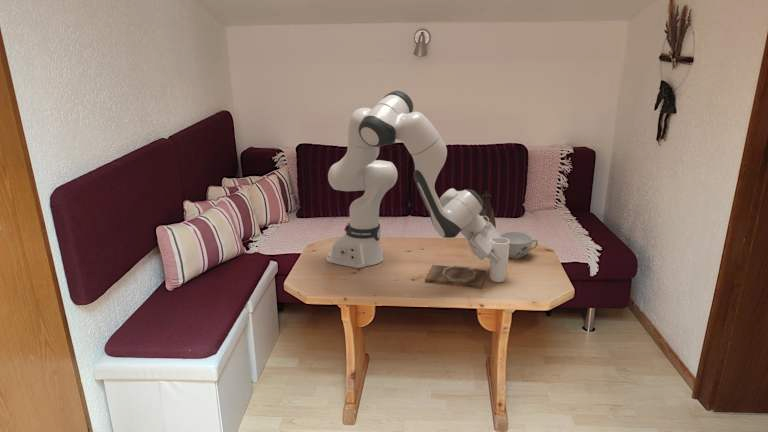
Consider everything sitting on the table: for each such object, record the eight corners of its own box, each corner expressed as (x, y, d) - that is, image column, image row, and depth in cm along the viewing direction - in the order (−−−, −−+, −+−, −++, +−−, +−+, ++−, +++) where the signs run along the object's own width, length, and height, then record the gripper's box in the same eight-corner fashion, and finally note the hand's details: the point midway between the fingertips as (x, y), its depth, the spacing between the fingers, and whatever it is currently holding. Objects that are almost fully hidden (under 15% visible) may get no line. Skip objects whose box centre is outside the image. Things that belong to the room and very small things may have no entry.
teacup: (503, 262, 207) (504, 243, 204) (495, 250, 219) (496, 231, 216) (542, 261, 207) (543, 241, 205) (532, 249, 219) (533, 230, 217)
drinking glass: (507, 284, 189) (510, 244, 184) (487, 283, 190) (489, 243, 186) (507, 276, 195) (509, 237, 190) (488, 275, 197) (490, 236, 192)
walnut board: (424, 282, 192) (424, 276, 191) (432, 267, 204) (432, 262, 203) (481, 288, 186) (482, 283, 186) (486, 273, 198) (486, 268, 197)
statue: (483, 246, 223) (487, 188, 214) (498, 251, 218) (504, 192, 209) (470, 252, 217) (474, 193, 208) (486, 258, 212) (491, 197, 203)
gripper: (472, 232, 180) (500, 264, 179) (487, 214, 198) (513, 243, 197) (459, 243, 183) (486, 274, 182) (475, 224, 201) (500, 252, 200)
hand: (500, 258), depth 190 cm, fingers closed on drinking glass, 6 cm apart
